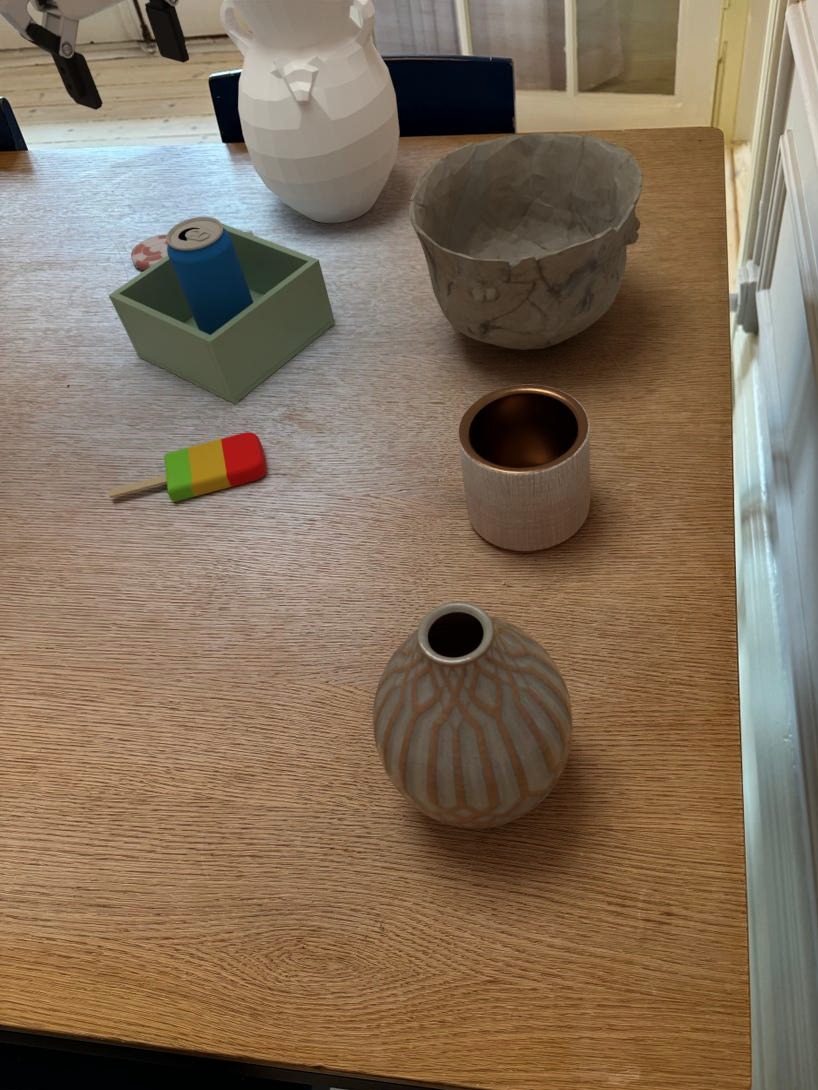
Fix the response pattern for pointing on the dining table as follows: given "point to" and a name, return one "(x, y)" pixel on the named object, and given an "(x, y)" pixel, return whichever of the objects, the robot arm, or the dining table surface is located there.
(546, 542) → the planter
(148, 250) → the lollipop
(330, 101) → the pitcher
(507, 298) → the bowl
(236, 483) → the popsicle
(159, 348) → the bin
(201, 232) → the beverage can
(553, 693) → the vase
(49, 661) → the dining table surface
